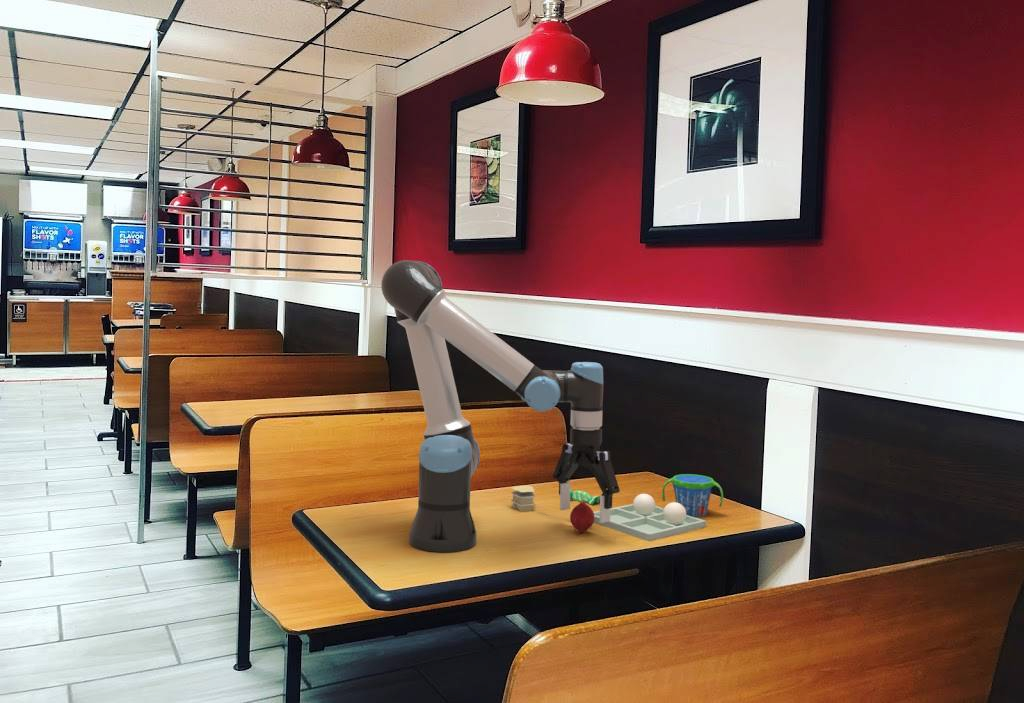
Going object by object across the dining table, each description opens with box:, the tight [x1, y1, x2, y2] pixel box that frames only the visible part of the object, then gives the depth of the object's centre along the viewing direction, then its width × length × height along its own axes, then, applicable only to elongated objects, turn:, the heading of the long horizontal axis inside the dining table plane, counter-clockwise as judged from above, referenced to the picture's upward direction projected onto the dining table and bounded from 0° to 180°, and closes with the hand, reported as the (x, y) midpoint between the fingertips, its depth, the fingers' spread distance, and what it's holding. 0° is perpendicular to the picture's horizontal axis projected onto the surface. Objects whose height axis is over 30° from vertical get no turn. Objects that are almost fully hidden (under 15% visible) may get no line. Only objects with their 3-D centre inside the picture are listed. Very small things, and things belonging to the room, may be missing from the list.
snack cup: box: [661, 473, 724, 518], centre depth 219 cm, size 16×10×10 cm
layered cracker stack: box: [510, 485, 536, 512], centre depth 222 cm, size 10×9×6 cm
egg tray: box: [593, 503, 707, 542], centre depth 208 cm, size 21×21×2 cm
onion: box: [569, 500, 595, 534], centre depth 201 cm, size 6×6×8 cm
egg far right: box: [663, 501, 686, 525], centre depth 207 cm, size 6×6×6 cm
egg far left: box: [632, 493, 656, 516], centre depth 215 cm, size 6×6×6 cm
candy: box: [570, 488, 600, 506], centre depth 229 cm, size 12×3×4 cm
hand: (584, 515), depth 201 cm, fingers open, 13 cm apart
